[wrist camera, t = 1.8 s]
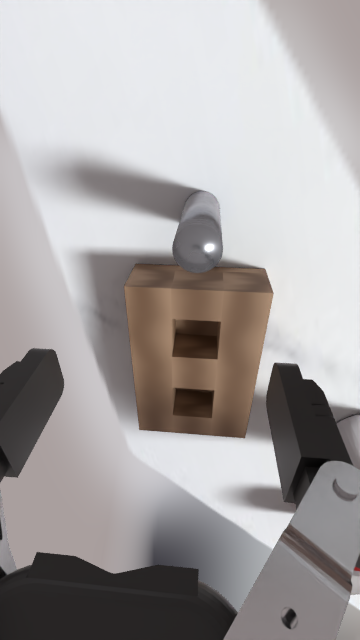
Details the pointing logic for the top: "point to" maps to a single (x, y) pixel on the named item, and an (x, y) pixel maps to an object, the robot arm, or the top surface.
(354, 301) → the top surface
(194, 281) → the hole block
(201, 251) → the pin
